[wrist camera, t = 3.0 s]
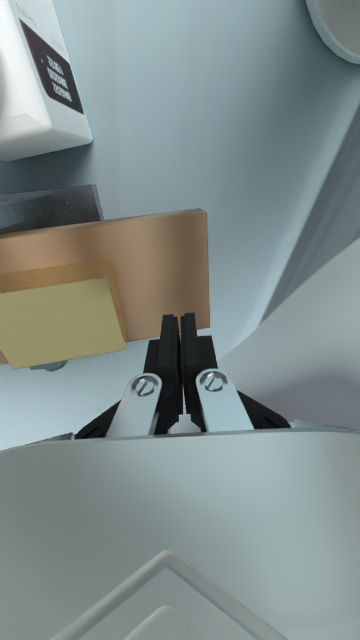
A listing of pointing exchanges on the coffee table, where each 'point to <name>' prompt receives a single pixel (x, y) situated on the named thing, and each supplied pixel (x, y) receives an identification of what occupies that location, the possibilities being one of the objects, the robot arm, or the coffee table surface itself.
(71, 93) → the container
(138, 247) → the beam
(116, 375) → the coffee table surface
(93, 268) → the slider
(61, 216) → the stand
